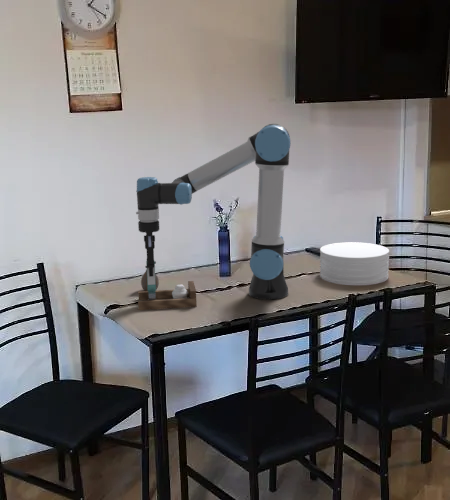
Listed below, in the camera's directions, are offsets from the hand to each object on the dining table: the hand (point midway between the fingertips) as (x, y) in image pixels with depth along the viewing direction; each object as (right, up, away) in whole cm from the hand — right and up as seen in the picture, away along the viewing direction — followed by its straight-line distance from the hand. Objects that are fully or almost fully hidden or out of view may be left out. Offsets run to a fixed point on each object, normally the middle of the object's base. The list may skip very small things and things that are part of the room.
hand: (151, 282), depth 255 cm
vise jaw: (0, -8, +2) cm, 8 cm away
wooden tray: (+6, -8, +2) cm, 10 cm away
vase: (-2, -4, +18) cm, 19 cm away
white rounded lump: (+10, -8, +3) cm, 13 cm away
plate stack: (+81, +1, +34) cm, 88 cm away
